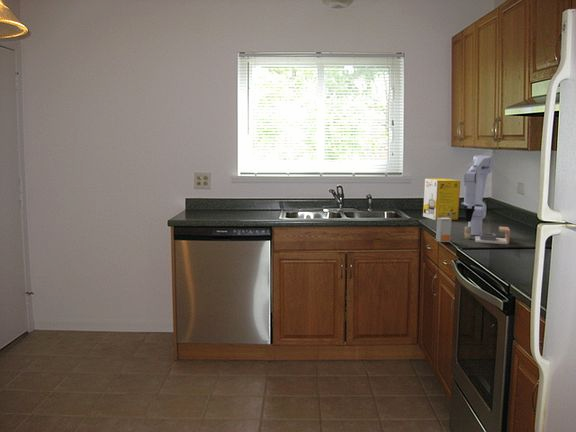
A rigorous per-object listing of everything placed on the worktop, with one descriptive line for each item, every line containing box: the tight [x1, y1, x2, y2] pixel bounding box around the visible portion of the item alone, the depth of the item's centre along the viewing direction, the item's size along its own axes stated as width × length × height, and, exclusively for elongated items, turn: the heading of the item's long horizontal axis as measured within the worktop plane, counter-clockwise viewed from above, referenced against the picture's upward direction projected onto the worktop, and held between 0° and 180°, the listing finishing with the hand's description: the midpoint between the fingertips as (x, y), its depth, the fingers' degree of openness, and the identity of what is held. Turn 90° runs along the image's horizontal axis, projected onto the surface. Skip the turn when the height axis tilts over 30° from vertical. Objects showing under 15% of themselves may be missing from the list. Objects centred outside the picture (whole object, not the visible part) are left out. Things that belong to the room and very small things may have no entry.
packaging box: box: [422, 178, 461, 221], centre depth 392 cm, size 16×16×25 cm
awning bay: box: [474, 226, 511, 245], centre depth 311 cm, size 12×16×7 cm
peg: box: [463, 226, 472, 240], centre depth 318 cm, size 3×3×6 cm
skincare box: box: [435, 218, 452, 243], centre depth 306 cm, size 6×4×12 cm
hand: (468, 220), depth 317 cm, fingers open, 7 cm apart
